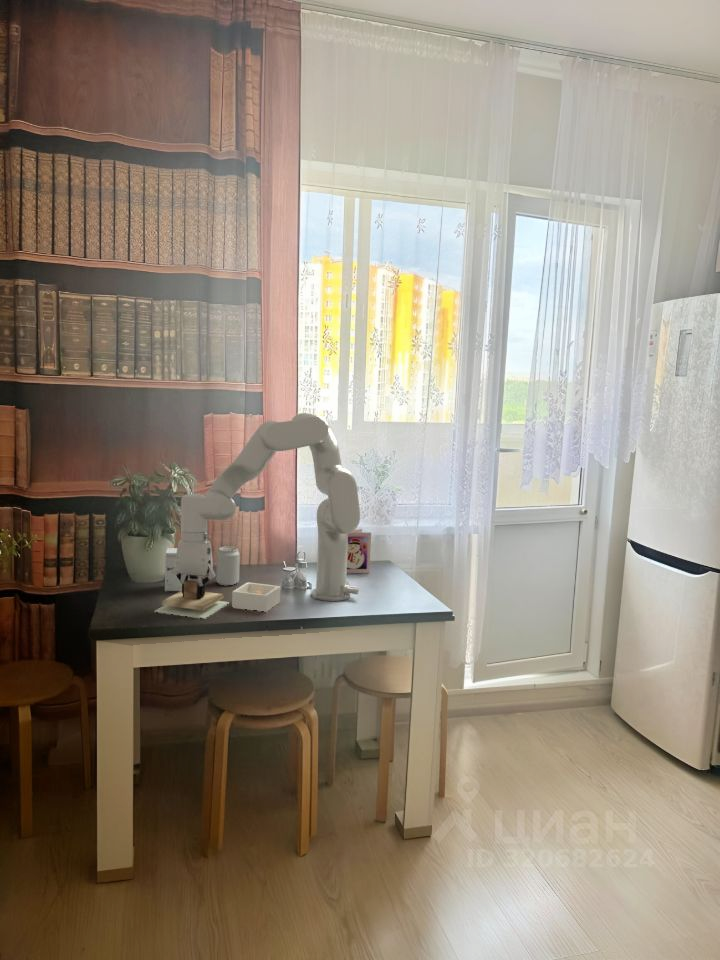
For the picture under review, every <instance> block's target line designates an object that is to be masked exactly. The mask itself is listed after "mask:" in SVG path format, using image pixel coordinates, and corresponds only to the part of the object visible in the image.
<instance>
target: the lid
mask: <svg viewBox="0 0 720 960" xmlns="http://www.w3.org/2000/svg"><path fill="white" fill-rule="evenodd" d="M197 586H199V583H198V578H189V580H187V581H185V582H184V597H183V594H182V591H177V593H175V594H173V595H171V596H168V597H167V598H165V599H163V600H162V601H161V604H162V606H164V605H166V606H174V607H181V608H189V609H197V610H204V609H206V608H208V607H209V606H211V605H212V604H214V603H216V602H217V601H222V599H224V594H223V593H215V592H208V591H205V595H204V597H203V598H201V599H197Z"/></svg>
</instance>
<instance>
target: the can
mask: <svg viewBox="0 0 720 960" xmlns="http://www.w3.org/2000/svg"><path fill="white" fill-rule="evenodd" d="M240 556H241V555H240V551H239V549H238V548H237V547H235V546H222V547H221V546H220V547H219V548H218V551H217V552H216V571H215V574H216V577H215V582H217V584H218V585H220V586H223V585H224V587H225V586H226V587H229V586H228V585H232V586H235V585H237V584H238V583H239V582H240V559H241V558H240ZM236 583H237V584H236ZM234 584H235V585H234Z"/></svg>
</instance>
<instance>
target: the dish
mask: <svg viewBox="0 0 720 960" xmlns="http://www.w3.org/2000/svg"><path fill="white" fill-rule="evenodd" d="M281 587H282V586H281V585H272V584H266V583H257V582H251V581H250V582H249V581H247V582H246V583H244V584H242V585H240V586H239V587H237V588H236V589H234V590H232V595H231V608H232V607H233V608H232V609H239V610H245V609H247V610H246V611H253V610H257V611H256V612H261V611H264V612H263V613H267V612H269V611H270V610H272V609H273V608H274V607H275V606H277V605H278V604H279V603H280V602H281ZM253 591H260V592H261V593H262V594H257V593H252V592H253ZM276 604H277V605H276ZM273 606H274V607H273ZM272 607H273V608H272ZM268 610H269V611H268Z"/></svg>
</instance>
